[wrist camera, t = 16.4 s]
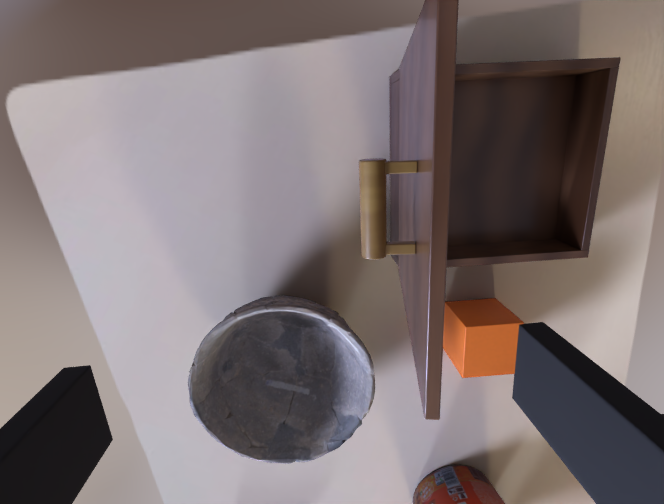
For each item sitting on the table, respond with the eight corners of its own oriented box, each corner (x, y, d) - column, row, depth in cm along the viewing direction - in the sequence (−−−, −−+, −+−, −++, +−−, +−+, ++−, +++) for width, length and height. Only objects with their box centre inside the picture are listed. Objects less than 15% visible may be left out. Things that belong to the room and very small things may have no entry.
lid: (460, -39, 14) (347, -27, 14) (439, 420, 20) (361, 417, 21) (408, 65, 35) (363, 68, 36) (405, 271, 41) (367, 272, 42)
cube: (495, 297, 50) (524, 322, 44) (491, 343, 52) (518, 373, 46) (444, 301, 50) (465, 326, 43) (442, 347, 52) (462, 378, 45)
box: (578, 67, 42) (620, 57, 37) (555, 243, 49) (588, 257, 43) (389, 76, 41) (402, 66, 36) (389, 254, 48) (401, 270, 42)
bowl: (187, 291, 47) (157, 330, 38) (346, 255, 47) (356, 285, 38) (234, 421, 53) (218, 482, 44) (374, 389, 53) (389, 444, 44)
